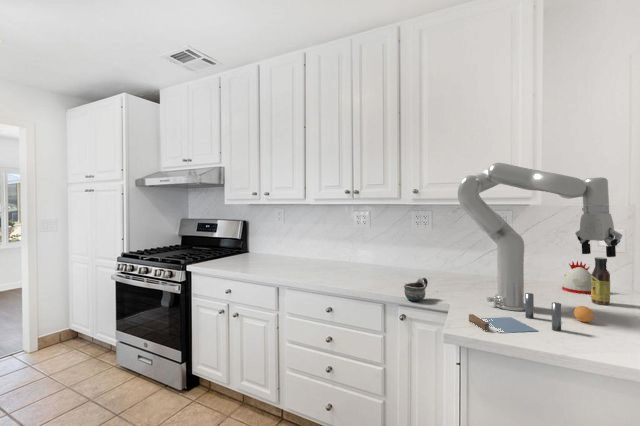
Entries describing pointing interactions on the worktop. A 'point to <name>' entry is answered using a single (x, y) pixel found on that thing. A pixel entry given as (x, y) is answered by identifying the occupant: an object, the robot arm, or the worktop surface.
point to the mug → (416, 289)
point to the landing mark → (509, 324)
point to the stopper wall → (478, 322)
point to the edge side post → (556, 316)
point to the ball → (583, 314)
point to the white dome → (577, 279)
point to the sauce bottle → (600, 282)
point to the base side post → (529, 305)
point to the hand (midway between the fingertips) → (598, 255)
